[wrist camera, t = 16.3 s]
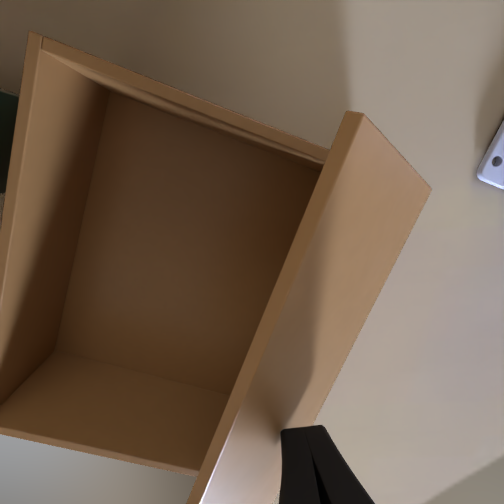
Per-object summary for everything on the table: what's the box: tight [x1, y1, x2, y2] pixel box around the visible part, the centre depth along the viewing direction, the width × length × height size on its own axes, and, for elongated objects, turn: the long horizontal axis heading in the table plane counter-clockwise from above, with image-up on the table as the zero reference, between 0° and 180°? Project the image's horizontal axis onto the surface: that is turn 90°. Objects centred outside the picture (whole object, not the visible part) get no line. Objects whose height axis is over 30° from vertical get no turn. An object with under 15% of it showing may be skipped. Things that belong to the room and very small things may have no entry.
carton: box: [0, 31, 330, 477], centre depth 14 cm, size 15×13×5 cm
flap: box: [186, 111, 432, 504], centre depth 9 cm, size 15×6×1 cm
